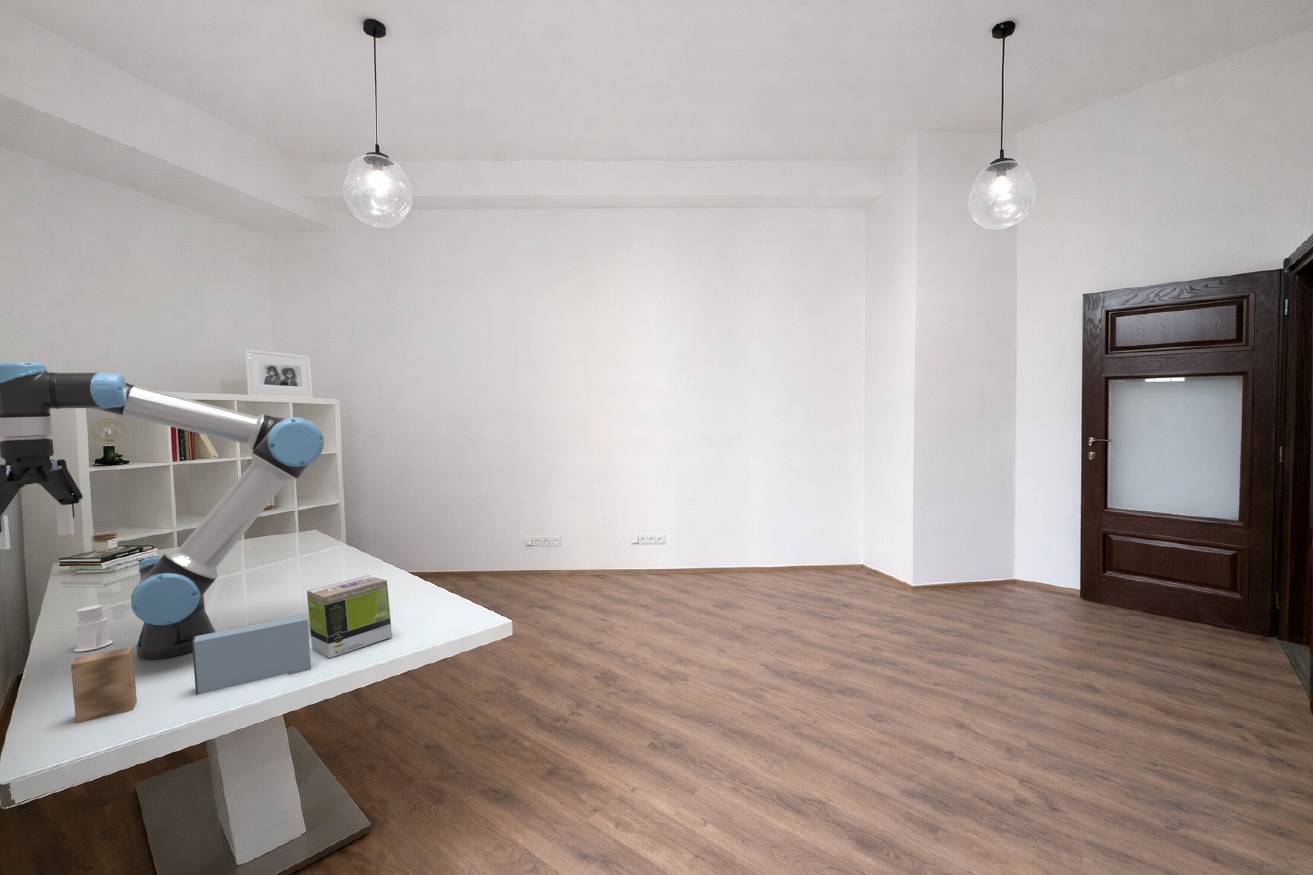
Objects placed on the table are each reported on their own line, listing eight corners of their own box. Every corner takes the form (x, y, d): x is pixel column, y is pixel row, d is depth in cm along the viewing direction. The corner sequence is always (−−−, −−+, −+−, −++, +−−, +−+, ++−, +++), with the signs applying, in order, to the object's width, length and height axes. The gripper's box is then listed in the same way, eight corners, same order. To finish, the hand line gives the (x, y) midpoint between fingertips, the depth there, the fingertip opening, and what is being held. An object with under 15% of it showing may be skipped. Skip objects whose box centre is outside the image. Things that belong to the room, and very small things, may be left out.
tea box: (373, 630, 153) (370, 573, 152) (392, 638, 146) (389, 579, 146) (310, 649, 141) (306, 588, 140) (328, 660, 135) (323, 596, 134)
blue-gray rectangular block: (196, 696, 119) (191, 642, 118) (198, 688, 122) (194, 636, 122) (311, 669, 130) (307, 619, 129) (309, 662, 133) (306, 614, 133)
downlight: (118, 644, 149) (114, 605, 149) (81, 654, 143) (76, 613, 143) (106, 640, 154) (102, 602, 153) (69, 650, 148) (65, 610, 147)
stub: (75, 723, 109) (70, 664, 109) (81, 714, 113) (76, 657, 112) (133, 709, 114) (128, 653, 113) (136, 701, 117) (132, 646, 116)
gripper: (63, 436, 133) (72, 530, 134) (-64, 442, 108) (-53, 557, 109) (99, 435, 134) (107, 528, 135) (-20, 440, 109) (-10, 555, 110)
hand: (35, 541), depth 122 cm, fingers open, 13 cm apart
